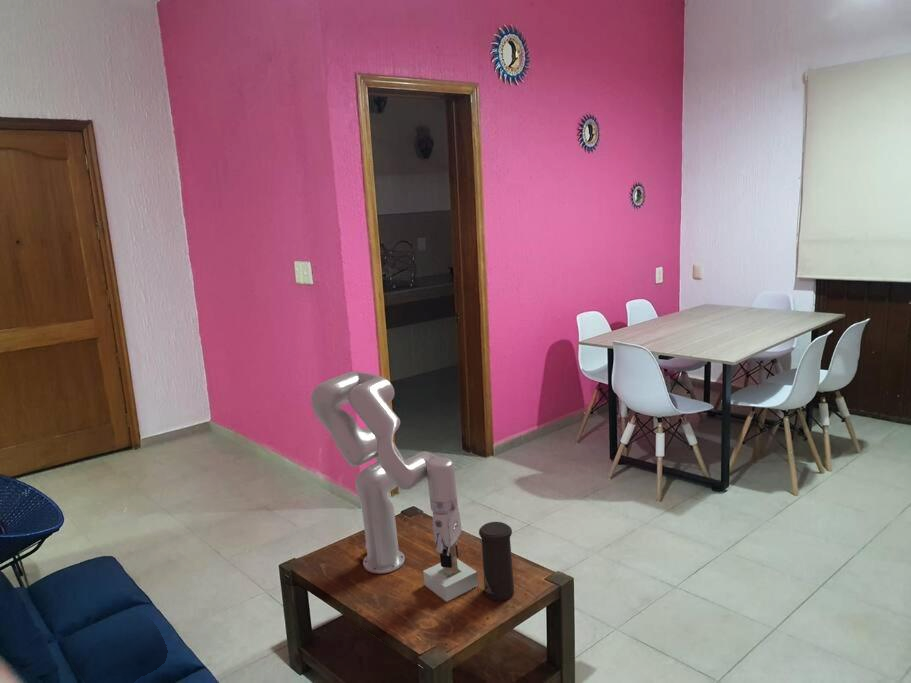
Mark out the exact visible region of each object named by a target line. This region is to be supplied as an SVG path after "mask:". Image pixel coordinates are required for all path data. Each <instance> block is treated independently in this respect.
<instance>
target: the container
mask: <svg viewBox="0 0 911 683" xmlns="http://www.w3.org/2000/svg"><path fill="white" fill-rule="evenodd" d="M478 534H479V537H480V539H481V549H482V550H481V551H482V552H481V553H482V567H483V568H482V569H483V584H484V594H485V596H486V597H487V598H488V599H490V600H492V601H496V602H497V601H498V602H501V601H506V600H509V599H511V598H512V597H513V596H514V594H515V583H514V582H515V581H514V572H513V571H514V570H513V560H512V549H511V548H512V547H511V545H512V544H511V536H512V535H513V530H512V527H511V526H509V525H508V524H507V523H505V522H502V521H501V522H500V521H490V522H487V523H485V524H483V525H482V526H481V527H480V528H479V529H478Z"/></svg>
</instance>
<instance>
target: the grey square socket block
mask: <svg viewBox="0 0 911 683" xmlns="http://www.w3.org/2000/svg"><path fill="white" fill-rule="evenodd" d="M457 566H458V571H456V572H454V573H451V574H448V573H447V572H445V571H444V569H443V567H442V566H441V562H439V563H437V564H435V565H433V566H431V567H430V566H429V567H428V568H427V569H424V570H422V573H423V583H424V584H423V585H424V586H425V587H426V588H428V589H429V590H430V591H431V592H433V593H434V594H435V595H436V596H438V597H440V598H441V599H442V600H443V601H445V602H446V603H447V602H449V601H451V600H454V599H455V598H457V597H459V596H461V595H463V594H465V593H467V592H469V591H471V590H473V589H475V588H477V587H478V586H479V582H478V581H479V579H478V578H479V577H478V571H476V570H475V569H474V568H472V567H471V566H469V565H468V564H467V563H464V562H463V561H461V560H460V559H459V558H457ZM474 587H475V588H474ZM472 588H473V589H472Z"/></svg>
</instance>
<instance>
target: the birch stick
mask: <svg viewBox="0 0 911 683" xmlns="http://www.w3.org/2000/svg"><path fill="white" fill-rule="evenodd" d="M443 543H444V542H443ZM456 545H457V544H455V543H454V544H453V545H452V546H451V547H450V554H451V558H452V567H451V568H447V567H443V569H444V571H445V572H447V573H448V574H451V573H454V572H456V571H458V566H457V559H458V558H457V556H456ZM443 549H445V550H446V547H443Z"/></svg>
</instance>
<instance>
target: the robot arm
mask: <svg viewBox="0 0 911 683" xmlns="http://www.w3.org/2000/svg"><path fill="white" fill-rule="evenodd" d="M394 398H395V388H394V386H393V384H392V383H391V382H390V380H388V379H387V378H385V377H384V376H380V375H377V374H372V373H367V372H363V371H362V372H361V371H349V372H346V373H344V374H341V375H338V376H335V377H332V378H330V379H327V380H325V381H323V382H321V383H319V384H318V385H317V386H316V387H315V388H314V389H313V390H312V393H311V396H310V402H311V409H312V411H313V413H314V415H315V417H316V418H317V419H318V420H319V422H320V423H321V424H322V426H324V428H325V429H326V431H328V433H329V435H330V436H331V438H332V441H334V443H335V445H336V447H337V449H338V450H339V452H340V453H341V455H342V457H343V459H344V460H345V461H346V463H347V464H348V465H349V466H351V467H354V468H355V467H360V466H363V465H364V464H366V463H368V462H370V461H372V460H374V459H375V460H376V462H373V464H370V465H369V466H367V467H365V468H364V469H362V470H361V471H360V472H359V473H358V475H356V478H355V482H354V485H355V489H356V493H357V496H358V498H359V502H360V507H361V513H362V521H363V528H364V536H365V545H364V547H365V548H366V552H367V555H366V556H365V557H364V559H363V563H362V564H363V568H364V569H365V571H367V572H369V573H373V574H387V573H391V572H393V571H397V570H398V569H399V568H401V567H402V566H403V565H404V564H405V557H406V556H405V554H404V553H403V552H402V551H401V550H399V542H398V533H397V524H396V514H395V508H394V507H395V506H394V505H393V503H392V501H391V500H390V498H388V493H390V492H392V490H395V489H396V488H397V487H398V488H400V489H401V490H404V491H409V490H412V489H414V488H415V487H418V485H420V484H422V483H423V482H426V481H427V483H428V484H427V485H428V495H429V504H430V510H431V511H432V532H433V541H434V545H435V546H436V553H437V554H438V555H439V558H440V559H439V560H440V563H441V566H442V567H447V568H451V567H452V558H451V554H450V547H451V546H452V545H453V544H454V543H455V545H456V556H457V559H459V553H458V552H459V550H458V538H459V537H460V535H461V533H462V523H461V516H460V510H459V504H458V495H457V485H456V484H457V482H456V475H455V474H456V472H455V466H454V465H455V464H454V462H453V461H452V460H451V459H450V458H449V457H439V456H438V455H436V454H433V453H431V452H429V451H420V452H418V453H417V454H414V455H413V456H411V457H409V458H407V459H404V458H403V455H402V454H401V452H400V451H399V449H398V447H397V446H396V444H395V442H394V437H395V433H396V432H397V431H398V429H399V428H400V425H401V420H400V417H398V415H397V414H396V413H395V412H394V411H393V409H392V408H391V407H390V405H389V404H390V402H392V400H393V399H394ZM345 404H350V407H351V408H352V409H353V410H354V411H355V413H356V414H357V416H358V417H359V418H360V420H362V422H363V423H364V424H365V426H366V427H365V428H361V427H360V426H359V425H358V423H357V421H356V419H355V418H354V417H353V415H351V414H350V413H349V412H347V411H346V410H344V409H342V408H341V406H343V405H345ZM443 542H444V543H443ZM443 547H446V550H445V549H443Z"/></svg>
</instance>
